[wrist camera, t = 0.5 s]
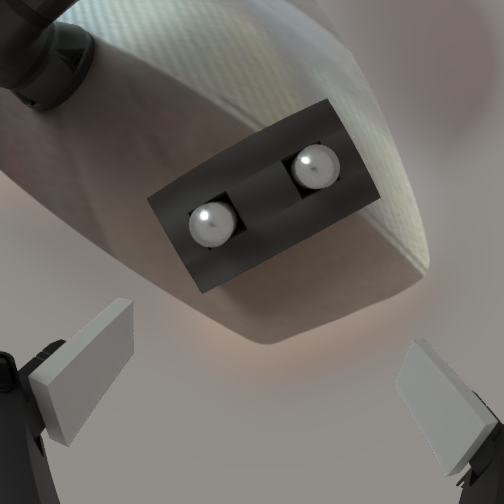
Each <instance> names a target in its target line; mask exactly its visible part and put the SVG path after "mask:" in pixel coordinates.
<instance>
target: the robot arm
mask: <svg viewBox="0 0 504 504" xmlns="http://www.w3.org/2000/svg"><path fill="white" fill-rule="evenodd" d="M78 1H79V0H0V87H3V88H6V89H9V90H10V91H11V92H12V93H13V94H14V95H15V96H16V97H17V98H18V99H19V100H20V101H21V102H22V103H23V104H25V105H26V106H28V107H30V108H33V109H37V110H49V109H52V108H54V107H56V106H58V105H59V104H61V103H62V102H64V101H65V100H66V99H67V98H68V97H69V96H70V95H71V94H72V93H73V92H74V91H75V90H76V89H77V87H78V86H79V85H80V83H81V82H82V80H83V79H84V77H85V75H86V73H87V71H88V69H89V67H90V64H91V61H92V58H93V52H94V44H93V40H92V37H91V36H90V34H89V33H88V32H87V31H85V30H84V29H83V28H81V27H80V26H77V25H74V24H68V23H62V22H56V21H55V20H56V19H57V18H58V17H59V16H61V15H62V14H63V13H64V12H65V11H66V10H68V9H69V8H70V7H71V6H73V5H74V4H75V3H76V2H78ZM133 353H134V339H133V301H131V300H127V299H122V298H117V299H116V300H115V301H114V302H112V303H111V304H110V305H109V306H108V307H107V308H105V309H104V310H103V311H102V312H100V313H99V314H98V315H97V316H96V317H95V318H93V319H92V320H91V321H90V322H89V323H87V324H86V325H85V326H84V327H83V328H82V329H80V331H78V332H77V333H76V334H75V335H73V336H72V337H71V338H70V339H69V340H68V341H65V340H62V339H61V340H58V341H56V342H53V343H51V344H49V345H48V346H47V347H46V348H44V349H43V350H42V352H40V353H38V354H37V355H36V357H34V358H33V359H32V360H30V361H29V362H28V363H27V364H26V365H25V366H23V367H22V368H21V369H20V370H19V371H17V368H16V364H15V360H14V358H13V357H12V356H11V355H10V354H9V353H6V352H2V351H0V504H60V502H59V499H58V496H57V493H56V490H55V486H54V483H53V480H52V476H51V472H50V470H49V465H48V461H47V457H46V453H45V448H44V444H43V439H42V437H41V435H40V434H41V432H42V431H43V430H44V428H45V427H46V430H47V432H48V435H49V437H50V439H52V440H54V441H57V442H59V443H60V444H63V445H65V446H67V447H69V445H70V444H71V442H72V441H73V439H74V438H75V436H76V434H77V433H78V432H79V430H80V429H81V427H82V426H83V424H84V423H85V421H86V420H87V418H88V417H89V416H90V414H91V413H92V411H93V410H94V408H95V407H96V405H97V404H98V403H99V401H100V400H101V398H102V397H103V395H104V394H105V392H106V391H107V390H108V388H109V386H110V385H111V384H112V383H113V381H114V380H115V378H116V377H117V376H118V374H119V373H120V371H121V370H122V368H123V367H124V366H125V364H126V363H127V362H128V360H129V359H130V357H131V356H132V355H133ZM394 386H395V388H396V389H397V391H398V393H399V394H400V396H401V398H402V399H403V401H404V403H405V404H406V406H407V408H408V410H409V411H410V413H411V415H412V416H413V418H414V420H415V422H416V423H417V425H418V427H419V429H420V430H421V432H422V434H423V436H424V437H425V439H426V441H427V443H428V445H429V446H430V448H431V450H432V452H433V454H434V455H435V457H436V459H437V461H438V463H439V465H440V466H441V468H442V470H443V472H444V474H445V476H446V477H447V476H451V475H454V474H457V473H459V472H461V470H462V469H463V468H464V467H465V466H466V465H467V463H468V462H469V464H470V466H471V468H470V469H469V470H468V471H467V473H466V474H465V475H464V476H463V477H462V478H461V479H460V480H459V482H458V483H457V485H456V486H459V485H460V484H461V483H462V482H463V481H465V482H464V484H463V486H461V487H462V488H463V490H462V493H461V497H460V501H459V504H504V424H502V423H501V422H500V420H499V419H498V418H497V417H496V416H495V415H494V413H493V412H492V411H491V410H490V409H489V407H488V406H487V407H486V404H485V403H484V402H483V401H481V398H480V397H479V396H478V395H477V394H476V393H475V392H473V391H472V390H471V389H470V388H469V387H468V386H467V385H466V384H465V382H464V381H463V380H462V379H461V378H460V377H459V376H458V375H457V374H456V372H455V371H454V370H453V369H452V368H451V367H450V366H449V365H448V364H447V363H446V362H445V361H444V360H443V359H442V357H441V356H440V355H439V354H438V353H437V352H436V351H435V350H434V349H433V348H432V347H431V346H430V345H429V344H428V343H427V342H426V341H425V340H424V339H412V342H411V344H410V347H409V350H408V352H407V355H406V357H405V360H404V362H403V364H402V367H401V369H400V371H399V374H398V376H397V378H396V381H395V383H394Z"/></svg>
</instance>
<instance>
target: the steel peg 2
mask: <svg viewBox="0 0 504 504" xmlns="http://www.w3.org/2000/svg"><path fill="white" fill-rule="evenodd" d="M339 171H340V164H339V160H338V158H337V156H336V154H335V153H334V152H333V151H332V150H331V149H330V148H328V147H326V146H323V145H311V146H308V147H306V148H305V149H303V150H302V151H301V152H300V153H299V154H298V156H297V157H296V158H295V159H294V160H293V162H292V164H291V176H292V178H293V180H294V182H295V183H296V184H297V185H298V186H300V187H302V188H305V189H320V188H325V187H328V186H330V185H331V184H333V183H334V182H335V181H336V179H337V177H338V175H339Z"/></svg>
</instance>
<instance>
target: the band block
mask: <svg viewBox="0 0 504 504" xmlns="http://www.w3.org/2000/svg"><path fill="white" fill-rule="evenodd" d="M311 145H323V146H326V147H328V148H330V149H331V150H332V151H333V152H334V153H335V154H336V156H337V158H338V160H339V164H340V171H339V175H338V177H337V179H336V181H335V182H334V183H333V184H331V185H330V186H328V187H325V188H320V189H313V190H311V191H310V192H308V193H306V194H304V195H302V196H300V194H299V192H298V190H297V189H296V187H295V185H294V183H293V181H292V179H291V178H290V176H289V174H288V172H287V171H286V169H285V167H284V165H283V163H284V162H286V161H287V160H289V159H291V158H293V157H295V156H297V155H298V154H299V153H300V152H301V151H302V150H303V149H305V148H306V147H308V146H311ZM226 194H228V196H229V198H230V199H231V201H232V203H233V205H234V206H235V208H236V210H237V212H238V214H239V215H240V217H241V219H242V221H243V222H244V224H245V227H243V228H242V229H240V230H238V231H236V232H234V233H233V234H231V236H230V237H229V238H228V240H227V241H226V242H225V243H223V244H222V245H220V246H217V247H205V246H202V245H200V244H199V243H197V242H196V241H195V240H194V238H193V237H192V235H191V233H190V230H189V220H190V217H191V215H192V213H193V212H194V210H195V209H196V208H198V207H199V206H201V205H203V204H207V203H212V202H214V201H215V200H217V199H219V198H220V197H222V196H224V195H226ZM379 198H381V197H380V195H379V193H378V190H377V188H376V186H375V184H374V182H373V180H372V178H371V176H370V174H369V172H368V170H367V168H366V166H365V164H364V162H363V160H362V158H361V156H360V154H359V153H358V151H357V149H356V147H355V145H354V143H353V141H352V140H351V138H350V136H349V134H348V133H347V131H346V129H345V127H344V126H343V124H342V122H341V120H340V119H339V117H338V115H337V114H336V112H335V110H334V109H333V107H332V105H331V104H330V102H329V101H328V99H325V100H323V101H320V102H318V103H316V104H314V105H312V106H309V107H307V108H305V109H303V110H301V111H299V112H297V113H295V114H293V115H291V116H289V117H287V118H284V119H282V120H280V121H278V122H277V123H275V124H273V125H271V126H269V127H267V128H265V129H263V130H261V131H259V132H257V133H255V134H253V135H252V136H250V137H248V138H246V139H244V140H242V141H241V142H239V143H237V144H235V145H233V146H232V147H230V148H228V149H226V150H224V151H223V152H221V153H219V154H217V155H216V156H214V157H212V158H211V159H209V160H207V161H206V162H204V163H202V164H201V165H199V166H197V167H196V168H194V169H192V170H191V171H189V172H187V173H186V174H184V175H183V176H181V177H179V178H178V179H176V180H175V181H173V182H172V183H170V184H168V185H167V186H165V187H164V188H162V189H161V190H159V191H158V192H156V193H155V194H153V195H152V196H150V197H149V198H147V200H148V202H149V203H150V205H151V207H152V209H153V211H154V213H155V214H156V216H157V218H158V220H159V222H160V223H161V225H162V227H163V229H164V230H165V232H166V234H167V236H168V237H169V239H170V241H171V243H172V244H173V246H174V248H175V250H176V251H177V253H178V255H179V256H180V258H181V260H182V262H183V263H184V265H185V267H186V268H187V270H188V272H189V273H190V275H191V277H192V278H193V280H194V281H195V283H196V285H197V286H198V288H199V290H200V291H201V293H202V294H203V293H205V292H207V291H209V290H211V289H213V288H215V287H216V286H218V285H220V284H222V283H224V282H226V281H228V280H230V279H232V278H233V277H235V276H237V275H239V274H241V273H243V272H245V271H247V270H249V269H250V268H252V267H254V266H256V265H258V264H260V263H262V262H264V261H265V260H267V259H269V258H271V257H273V256H275V255H277V254H278V253H280V252H282V251H284V250H286V249H288V248H290V247H291V246H293V245H295V244H297V243H299V242H301V241H303V240H304V239H306V238H308V237H310V236H312V235H314V234H315V233H317V232H319V231H321V230H323V229H325V228H327V227H328V226H330V225H332V224H334V223H336V222H337V221H339V220H341V219H343V218H345V217H347V216H348V215H350V214H352V213H354V212H356V211H358V210H359V209H361V208H363V207H365V206H367V205H368V204H370V203H372V202H374V201H376V200H377V199H379Z"/></svg>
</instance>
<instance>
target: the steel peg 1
mask: <svg viewBox="0 0 504 504" xmlns="http://www.w3.org/2000/svg"><path fill="white" fill-rule="evenodd" d="M237 223H238V217H237V213H236V211H235V209H234V208H233V207H232V206H231V205H230V204H228V203H226V202H222V201H217V202H212V203H207V204H203V205H201V206H199V207H198V208H196V209H195V210H194V212H193V213H192V215H191V217H190V220H189V230H190V233H191V235H192V237H193V238H194V240H195V241H196V242H197V243H199V244H200V245H202V246H205V247H217V246H220V245H222V244H223V243H225V242H226V241H227V240H228V238H229V237H230V236H231V234H232V233H233V232H234V230H235V229H236V227H237Z"/></svg>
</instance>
